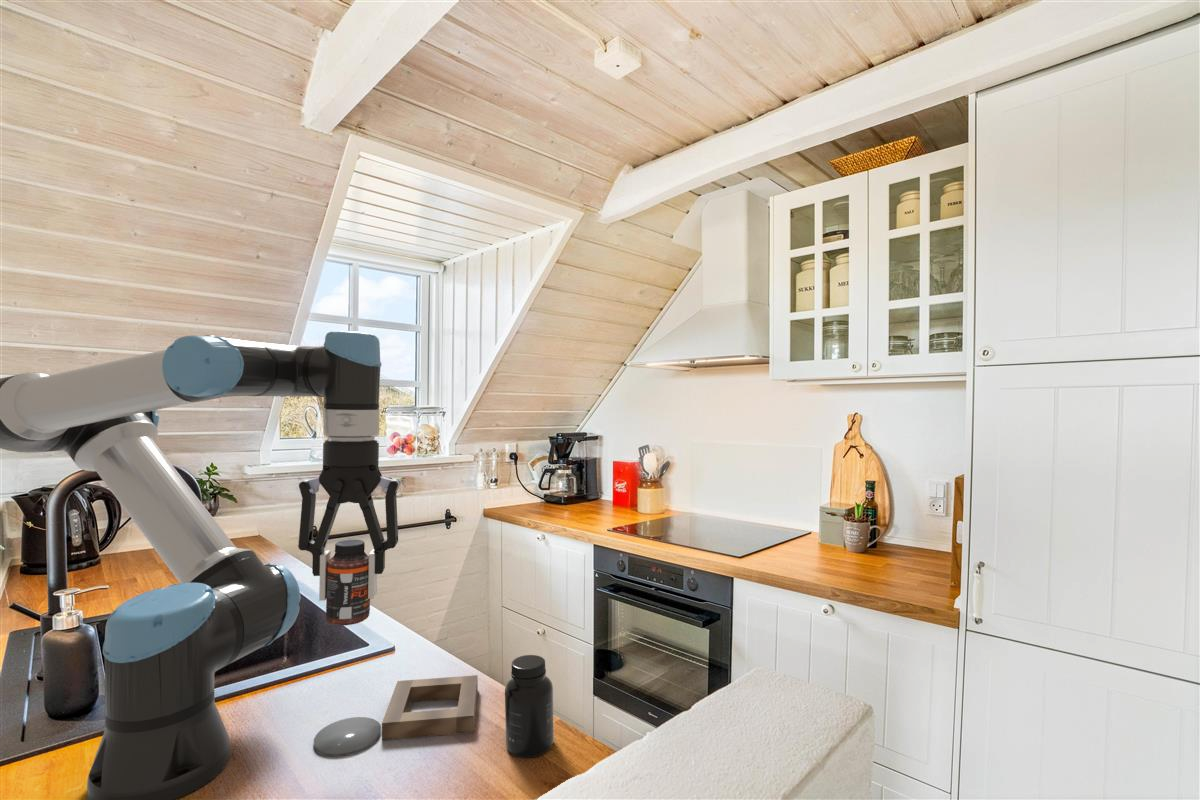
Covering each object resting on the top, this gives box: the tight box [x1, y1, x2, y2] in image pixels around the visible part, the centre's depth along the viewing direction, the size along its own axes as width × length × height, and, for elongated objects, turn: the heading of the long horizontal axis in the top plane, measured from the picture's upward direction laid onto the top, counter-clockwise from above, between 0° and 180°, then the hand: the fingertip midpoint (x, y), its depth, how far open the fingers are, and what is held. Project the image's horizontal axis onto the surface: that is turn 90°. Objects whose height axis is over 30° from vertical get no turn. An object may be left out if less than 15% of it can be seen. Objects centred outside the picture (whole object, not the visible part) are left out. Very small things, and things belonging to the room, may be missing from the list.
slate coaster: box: [313, 716, 382, 757], centre depth 88 cm, size 9×9×1 cm
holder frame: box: [381, 674, 479, 741], centre depth 94 cm, size 13×13×2 cm
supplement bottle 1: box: [325, 539, 371, 626], centre depth 88 cm, size 6×6×11 cm
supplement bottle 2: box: [504, 654, 555, 759], centre depth 86 cm, size 7×7×12 cm
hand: (348, 596), depth 88 cm, fingers closed on supplement bottle 1, 6 cm apart
